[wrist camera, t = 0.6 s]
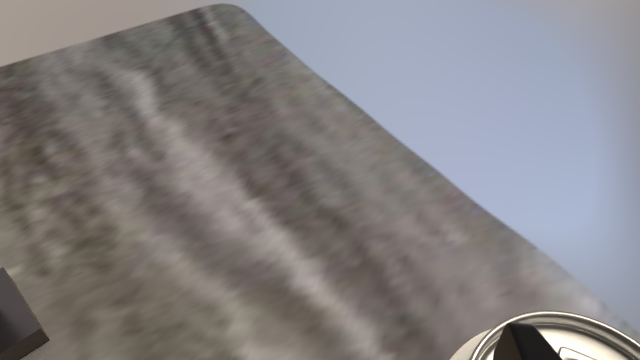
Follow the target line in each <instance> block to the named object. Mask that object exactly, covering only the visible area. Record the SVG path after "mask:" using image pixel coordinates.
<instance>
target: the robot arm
mask: <svg viewBox="0 0 640 360" xmlns="http://www.w3.org/2000/svg"><path fill="white" fill-rule="evenodd" d="M493 360H563V359H562V358H561V357H560V355H559V354H558V353H557V352H556V351H555V350H554V348H553V347H552V346H551V345H550V344H549V342H548V341H547V340H546V339H545V338H544V337H543V335H542V334H541V333H540V332H539V331H538V330H537V328H536V327H534V326H533V325H531V324H528V323H518V322H508V323H507V324H506V325H505V327H504V329H503V331H502V333H501V336H500V338H499V340H498V343H497V345H496V347H495V350H494V353H493Z"/></svg>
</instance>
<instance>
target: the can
mask: <svg viewBox="0 0 640 360" xmlns="http://www.w3.org/2000/svg"><path fill="white" fill-rule="evenodd" d="M508 322H518V323H528V324H531V325H533V326H534V327H536V328H537V330H538V331H539V332H540V333H541V334H542V335H543V337H544V338H545V339H546V340H547V341H548V342H549V344H550V345H551V346H552V347H553V348H554V350H555V351H556V352H557V353H558V354H559V355H560V357H561V358H562V359H563V360H640V343H638V342H637V341H635V340H634V339H633V338H631V337H629V336H628V335H626V334H624V333H623V332H621V331H619V330H617V329H615V328H613V327H611V326H609V325H607V324H605V323H603V322H600V321H598V320H595V319H592V318H589V317H586V316H583V315H579V314H575V313H570V312H563V311H534V312H528V313H523V314H520V315H516V316H514V317H511V318H509V319H507V320H505V321H503V322H501V323H500V324H498V325H497V326H495V327H494V328H493V329H490V330H487V331H485V332H483V333H481V334H479V335H477V336H475V337H474V338H472V339H471V340H469V341H468V342H467V343H465V344H464V345H463V346H462V347H461V348H460V349H459V350H458V351H457V352H456V353H455V354H454V355H453V356H452V358H451V359H450V360H493V353H494V350H495V347H496V345H497V343H498V340H499V338H500V336H501V333H502V331H503V329H504V327H505V325H506V324H507V323H508Z"/></svg>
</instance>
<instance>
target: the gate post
mask: <svg viewBox="0 0 640 360" xmlns="http://www.w3.org/2000/svg"><path fill="white" fill-rule="evenodd" d="M48 340H49V338H48V337H47V335H46V333H45V332H44V330H43V328H42V327H41V325H40V324H39V322H38V320H37V319H36V317H35V315H34V314H33V312H32V311H31V309H30V307H29V306H28V304H27V303H26V301H25V299H24V298H23V296H22V294H21V293H20V291H19V290H18V288H17V286H16V285H15V283H14V281H13V280H12V279H11V277H10V276H9V275H8V273H7V272H6V271H5V269H4V268H3V267H2V268H0V360H19V359H21V358H22V357H24V356H25V355H27V354H28V353H30V352H31V351H33V350H35V349H36V348H38V347H39V346H41V345H42V344H44V343H45V342H47V341H48Z"/></svg>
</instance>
